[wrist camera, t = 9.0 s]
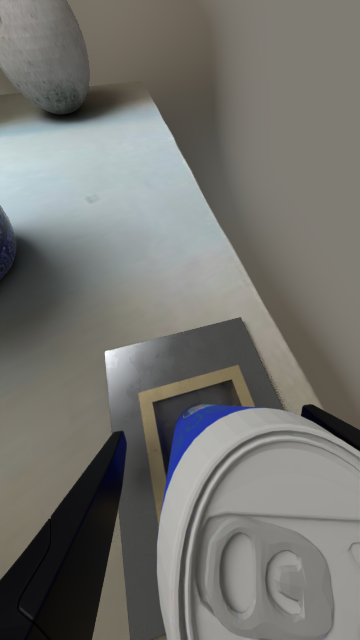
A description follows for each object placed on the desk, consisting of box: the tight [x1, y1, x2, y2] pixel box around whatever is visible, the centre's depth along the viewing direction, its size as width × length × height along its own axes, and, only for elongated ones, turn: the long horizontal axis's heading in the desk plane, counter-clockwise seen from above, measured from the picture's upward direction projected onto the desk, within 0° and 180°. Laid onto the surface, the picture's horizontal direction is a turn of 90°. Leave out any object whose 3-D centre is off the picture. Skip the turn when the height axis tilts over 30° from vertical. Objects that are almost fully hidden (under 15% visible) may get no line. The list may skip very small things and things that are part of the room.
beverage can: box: [157, 404, 360, 640], centre depth 10 cm, size 5×5×15 cm
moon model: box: [0, 0, 90, 114], centre depth 42 cm, size 20×20×20 cm
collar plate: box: [105, 317, 284, 640], centre depth 16 cm, size 20×16×4 cm
